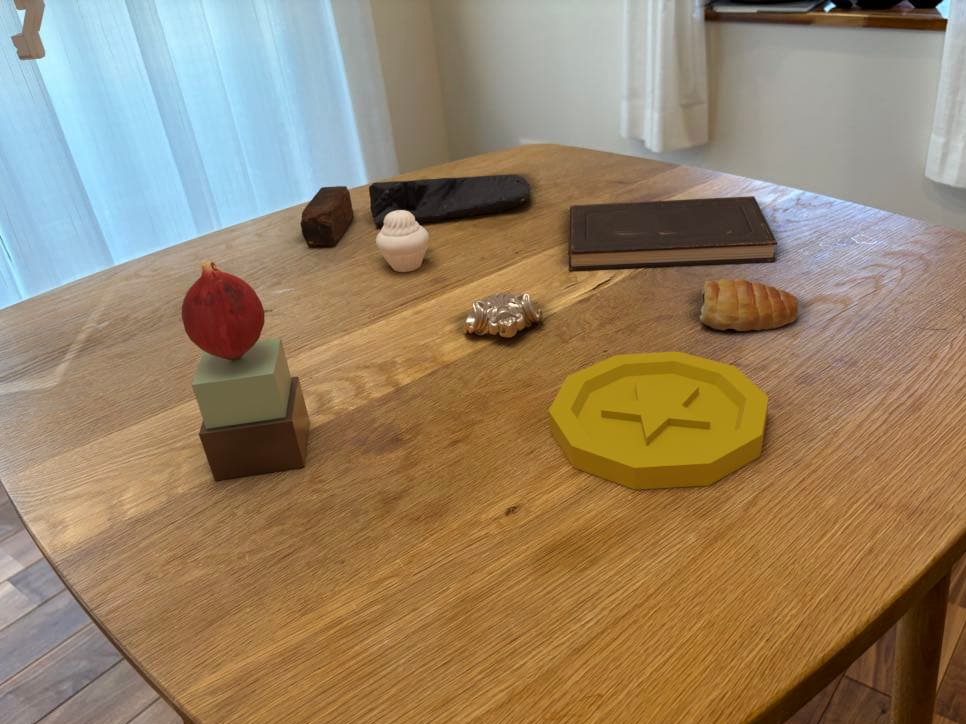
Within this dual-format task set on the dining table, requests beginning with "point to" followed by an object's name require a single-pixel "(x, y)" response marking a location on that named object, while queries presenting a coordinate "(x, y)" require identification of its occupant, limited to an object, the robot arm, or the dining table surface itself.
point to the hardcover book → (669, 233)
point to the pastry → (746, 306)
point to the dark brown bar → (327, 216)
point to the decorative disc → (659, 420)
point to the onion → (222, 314)
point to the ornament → (501, 315)
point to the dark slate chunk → (448, 197)
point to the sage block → (243, 386)
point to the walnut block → (259, 442)
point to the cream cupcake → (402, 241)
